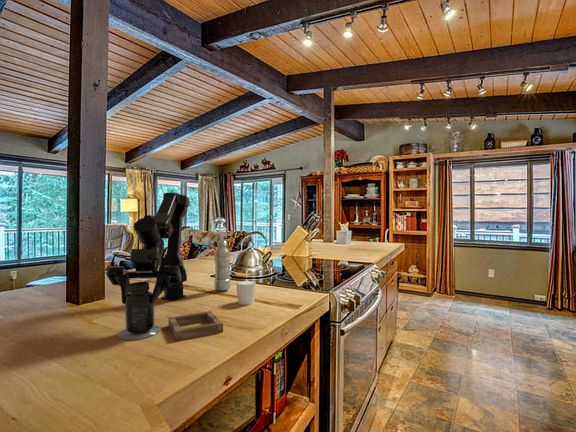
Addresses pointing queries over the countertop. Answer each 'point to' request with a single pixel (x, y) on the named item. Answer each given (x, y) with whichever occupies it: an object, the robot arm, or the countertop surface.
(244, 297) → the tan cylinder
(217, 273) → the plastic bottle
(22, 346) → the countertop surface
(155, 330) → the slate coaster
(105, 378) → the countertop surface
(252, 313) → the countertop surface
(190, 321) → the brown flat square frame
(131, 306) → the supplement bottle
